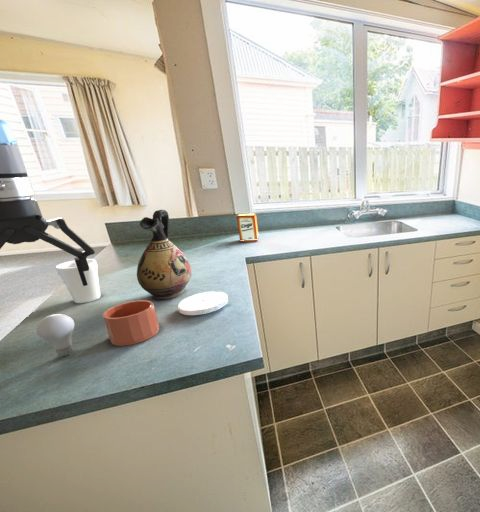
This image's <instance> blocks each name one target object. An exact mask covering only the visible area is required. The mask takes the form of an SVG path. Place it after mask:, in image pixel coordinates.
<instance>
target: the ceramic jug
mask: <svg viewBox="0 0 480 512" xmlns="http://www.w3.org/2000/svg"><path fill="white" fill-rule="evenodd" d="M139 225H140V227H141V228H142V230H145V231H150V232H152V236H151V238H150V241H149V242H148V244H147V246H146V247H145V249H144V250H143V252H142V254H141V256H140V258H139V260H138V263H137V266H136V267H137V268H136V279H137V282H138V284H139V286H140V287H141V288H142V289H143V290H144V291H146V292H147V293H148V294H150V295H151V299H153V300H159V301H163V300H168V299H173V298H176V297H179V296H180V295H182V294H183V293H184V290H185V288H186V286H187V285H188V284H189V282H190V281H191V278H192V275H193V273H192V272H193V271H192V267H191V264H190V262H189V260H188V257H186V255H185V254H184V253H183V252H182V251H181V250H180V249H179V248H178V247H177V245H175V243H173V242H172V241H171V240H170V237H169V235H170V234H169V229H170V217H169V213H168V211H167V210H166V209H158V210H155V211H153V214H152V218H151V217H147V216H145V217H143V218H142V219H141V220H140V222H139Z"/></svg>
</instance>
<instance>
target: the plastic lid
mask: <svg viewBox="0 0 480 512" xmlns="http://www.w3.org/2000/svg"><path fill="white" fill-rule="evenodd" d="M228 297H229V296H228V294H227V293H226V292H222V291H204V292H198V293H195V294H192V295H189V296H187V297H185V298H183V299H181V300H180V301H179V302H178V304H177V309H178V312H179V313H180V314H182V315H185V316H199V315H206V314H209V313H213V312H216V311H218V310H221V309H223V308H224V307H225V306H227V304H228V303H229V298H228Z"/></svg>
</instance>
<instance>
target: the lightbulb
mask: <svg viewBox="0 0 480 512" xmlns="http://www.w3.org/2000/svg"><path fill="white" fill-rule="evenodd" d="M35 329H36V330H35V332H36V334H37V335H38V336H39V338H41V339H42V340H44V341H46V342H48V343H49V344H50V345H51V347H52V349H54V350H55V352H56V353H57V354H56V355H57V356H59V357H67V356H69V355H70V354H71V353H72V352H73V351H74V350H73V346H72V344H73V342H72V334H73V332H74V330H75V321H74V319H73V318H72V317H70V316H68V315H67V314H64V313H63V314H62V313H56V314H50V315H47V316H45V317H44V318H42V319H41V320H40V321H39V322H38V323H37V325H36V328H35Z"/></svg>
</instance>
